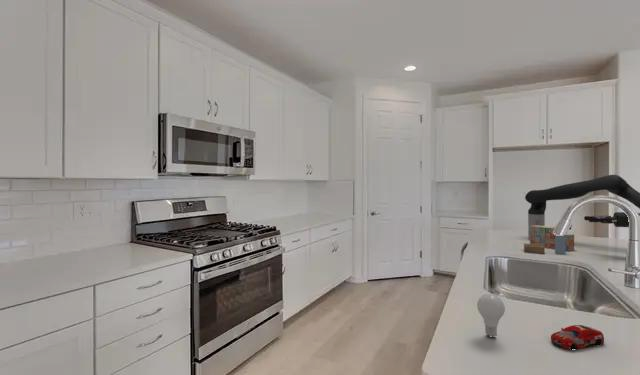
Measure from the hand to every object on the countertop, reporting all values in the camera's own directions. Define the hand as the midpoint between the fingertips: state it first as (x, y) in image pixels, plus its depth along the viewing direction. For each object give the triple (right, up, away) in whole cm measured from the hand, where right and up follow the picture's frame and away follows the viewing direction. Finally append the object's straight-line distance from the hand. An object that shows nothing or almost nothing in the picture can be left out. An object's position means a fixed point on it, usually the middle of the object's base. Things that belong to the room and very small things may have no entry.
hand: (586, 219), depth 170 cm
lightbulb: (-96, -22, -86) cm, 131 cm away
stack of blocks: (-3, -19, +21) cm, 29 cm away
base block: (-20, -20, +11) cm, 30 cm away
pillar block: (-10, -19, +6) cm, 22 cm away
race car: (-76, -22, -90) cm, 120 cm away
